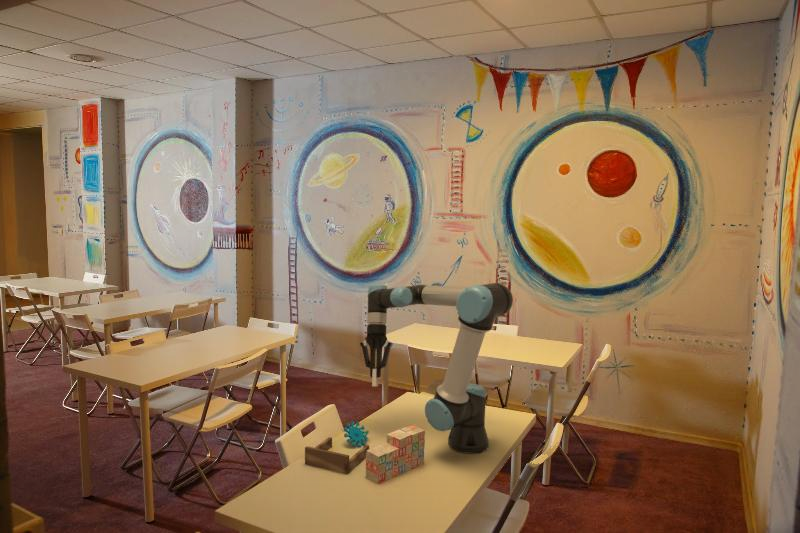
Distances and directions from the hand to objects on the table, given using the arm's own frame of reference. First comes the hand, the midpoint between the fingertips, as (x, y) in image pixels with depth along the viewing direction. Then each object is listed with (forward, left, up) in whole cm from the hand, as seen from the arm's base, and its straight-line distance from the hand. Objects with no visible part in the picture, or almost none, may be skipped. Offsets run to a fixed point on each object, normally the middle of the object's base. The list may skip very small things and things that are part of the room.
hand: (375, 386), depth 204 cm
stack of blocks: (-25, +13, -21) cm, 35 cm away
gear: (0, +8, -20) cm, 22 cm away
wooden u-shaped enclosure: (-5, +22, -20) cm, 30 cm away
